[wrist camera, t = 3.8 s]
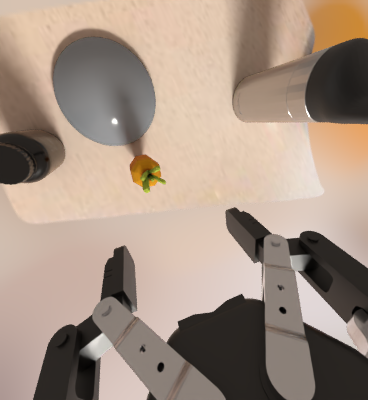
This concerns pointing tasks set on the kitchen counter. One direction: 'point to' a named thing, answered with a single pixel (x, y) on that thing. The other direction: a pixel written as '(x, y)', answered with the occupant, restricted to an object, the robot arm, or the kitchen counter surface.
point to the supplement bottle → (29, 156)
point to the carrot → (145, 172)
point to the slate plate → (104, 91)
